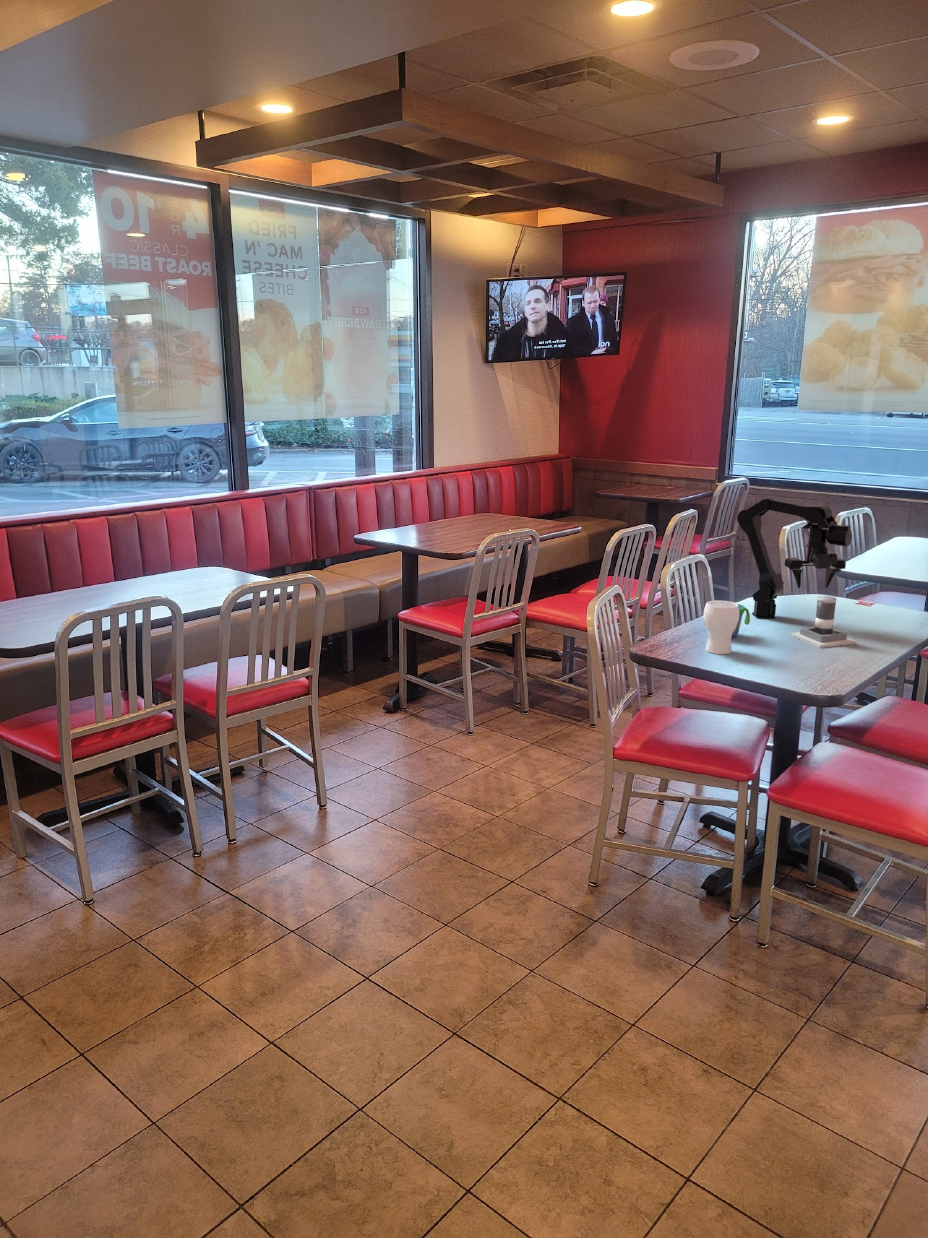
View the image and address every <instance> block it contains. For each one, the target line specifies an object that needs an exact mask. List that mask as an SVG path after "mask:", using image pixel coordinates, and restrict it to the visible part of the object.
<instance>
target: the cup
mask: <svg viewBox="0 0 928 1238" xmlns="http://www.w3.org/2000/svg"><path fill="white" fill-rule="evenodd" d="M738 604H739V603H737V604H736V602H734V601H729V600H721V599H720V600H716V599H715V600H710V601H709V600H708V601H707V602H706V603H705V606H704V609H703V623H704V622H705V624H704V626H705V625H706V626H705V627H706V630H707V637H708V638H707V642H706V645H705V646H706V647H705V651H706V652H708V653H711V654H714V655H715V654H716V655H727V654H730V653H732V640H731V639H732V637H731V636H732V632H733V631H734V629H735V628H736V626H737V623H738V621H739V614H740V613H739V607H738Z"/></svg>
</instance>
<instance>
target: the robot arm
mask: <svg viewBox="0 0 928 1238" xmlns="http://www.w3.org/2000/svg"><path fill="white" fill-rule="evenodd" d="M769 511H772V512H777V513H782V514H787V515H792V516H796V517H799V518H802V519H803V520H805V521H807V523H806V524H805V525H804V526H803V527H802V528H803V529H805V530H806V529H807V530H809V532H808V540H807V544H806V548H807V549H806V550H807V551H806V555H805V557H804V558H805V560H802V559H800V558H798V557H786V558H785V560H784V566H785V567H786V568H788V569H789V570H791V572H792V574H793V576H794V580H795V583H796V585H797V588H798V589H801V585H802V581H801V580H802V572H803V569H802V567H814V568H815V569H818V570H821V569H826V570H825V577H824V579H825V580H824V589H828V587H829V585H830V583H831V582H832V579H833V578H834V576H835V575H836V574H837V573H838V572H841V571H842V570H846V565H847V563H846V561H845V560H844V559H842V558H841V557H838V554H837V553H828V547H827V543H828V544H829V545H832V546H839V547H840V546H841V547H846V548H847V547H849V546H850V545H851V543H852V540H853V534H852V530H851V525H847V524H846V525H841V524H840V525H839V523H837V521H836V520H835V518H834V516H833V514H832V512H833V511H832V509H831V507H830V506H829V505H827V504H802V503H798V502H797V503H796V502H793V501H787V500H783V499H782V500H781V499H777V498H774V497H772V496H771V497H770V496H769V497H765V498H762V499H761V500H760V501H759V502H757V503H755V504H753V505H752V506H751V507H749V508H747V509H742V510H740V511H739V512H738V514H737V516H736V520H737V524H738V525H739V527H740V528H741V531H743V532H744V534H746V536H747V538H748V541H749V546H750V549H751V553H752V555H753V558H754V560H755V564H756V568H757V571H758V574H759V575H758V588H759V589H758V590H757V591H756V592H754V593H753V594H752V598H753V599H752V600H753V601H754V603H753V604H754V605H753V612H752V613H751V615H753V616H754V618H756V619H776V612H777V611H776V610H777V604H776V600H775V599H777V598H778V596H779V595H781V593H782V592H783V590H784V584H785V581H783V577H782V573H781V572H779V573H776V572H775V570H774V569H773V565H772V562H771V559H770V557H769V553H768V550H767V547H766V544H765V540H764V538H763V534H762V523H763V522H762V517H763V516H765V514H766V513H768V512H769Z"/></svg>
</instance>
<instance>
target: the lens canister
mask: <svg viewBox="0 0 928 1238" xmlns="http://www.w3.org/2000/svg"><path fill="white" fill-rule="evenodd" d="M836 602H837V598H836V597H835V596H829V595H820V596H817V602H816V612H815V620H814V627H815V629H814V632H815V633H818V634H820V635H828V634H832V633H833V629H834V625H835V624H834V623H835V612H836V604H837V603H836Z"/></svg>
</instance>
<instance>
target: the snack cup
mask: <svg viewBox="0 0 928 1238" xmlns="http://www.w3.org/2000/svg"><path fill="white" fill-rule="evenodd" d="M735 603H736V602H735ZM736 604H738V607H739V613H740V614H739V621H738V623H737V626H736V628H735V629H734V631H733V632H732V636H731V638H737V636H738V635H739V631H740V628H741V624H742V619H743V615H744V613H745V618H744V624H745V625H746V626H747V625H749V624H750V621H751V615H750V612H749V609H748V608H747V607H745V606H744V605H743V604H740V603H736ZM703 623H704V626H705V627H706V625H705V622H704V621H703Z"/></svg>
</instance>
